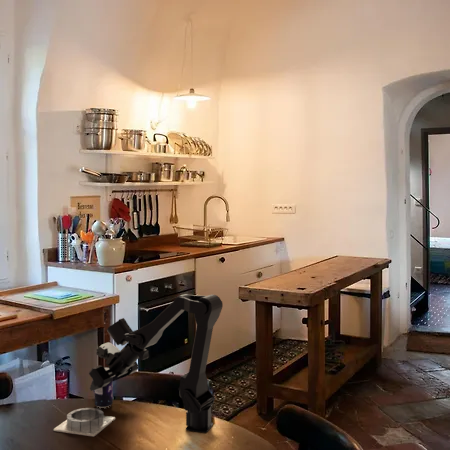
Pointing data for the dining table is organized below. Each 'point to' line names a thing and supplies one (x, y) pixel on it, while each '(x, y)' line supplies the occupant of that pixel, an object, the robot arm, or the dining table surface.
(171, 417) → the dining table surface
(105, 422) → the collar seat
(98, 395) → the beverage can
